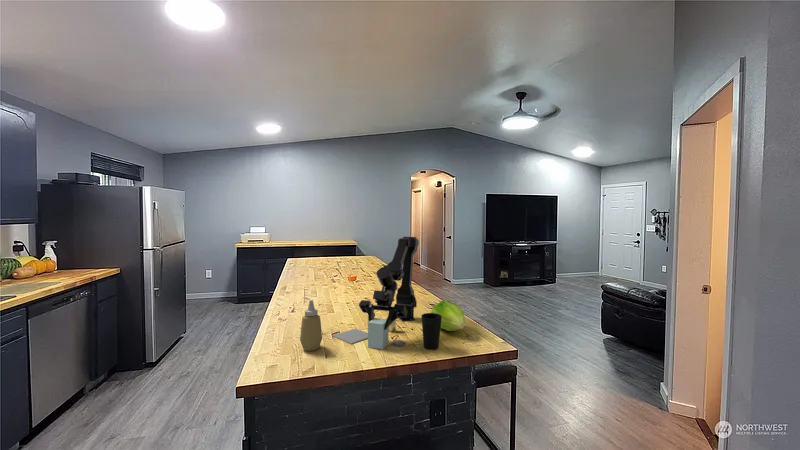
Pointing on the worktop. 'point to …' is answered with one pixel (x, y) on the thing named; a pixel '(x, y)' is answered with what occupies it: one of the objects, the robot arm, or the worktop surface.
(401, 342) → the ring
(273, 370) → the worktop surface
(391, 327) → the peg
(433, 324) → the cup
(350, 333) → the mat
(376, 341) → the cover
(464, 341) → the worktop surface
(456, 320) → the lettuce
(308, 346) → the squeeze bottle
